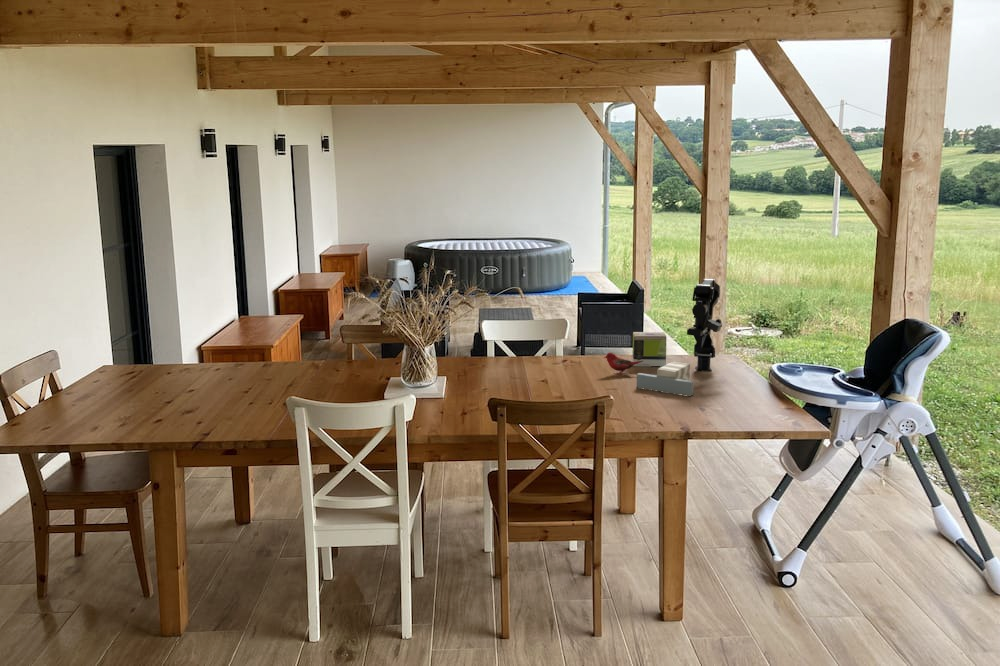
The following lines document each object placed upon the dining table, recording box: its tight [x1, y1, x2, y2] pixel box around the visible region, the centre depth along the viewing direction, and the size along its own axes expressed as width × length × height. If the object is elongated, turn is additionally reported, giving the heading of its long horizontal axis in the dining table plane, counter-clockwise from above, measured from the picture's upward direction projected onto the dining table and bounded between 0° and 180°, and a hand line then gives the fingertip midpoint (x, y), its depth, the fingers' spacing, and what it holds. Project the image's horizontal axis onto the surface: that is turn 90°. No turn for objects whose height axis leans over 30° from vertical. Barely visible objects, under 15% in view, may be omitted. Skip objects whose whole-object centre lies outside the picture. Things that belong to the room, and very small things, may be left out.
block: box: [656, 361, 691, 381], centre depth 369 cm, size 16×8×9 cm, turn 146°
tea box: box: [632, 331, 667, 368], centre depth 407 cm, size 15×10×15 cm, turn 84°
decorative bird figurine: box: [604, 352, 643, 375], centre depth 389 cm, size 3×18×10 cm, turn 92°
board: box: [636, 372, 694, 397], centre depth 362 cm, size 2×24×6 cm, turn 56°
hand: (700, 348), depth 384 cm, fingers closed
